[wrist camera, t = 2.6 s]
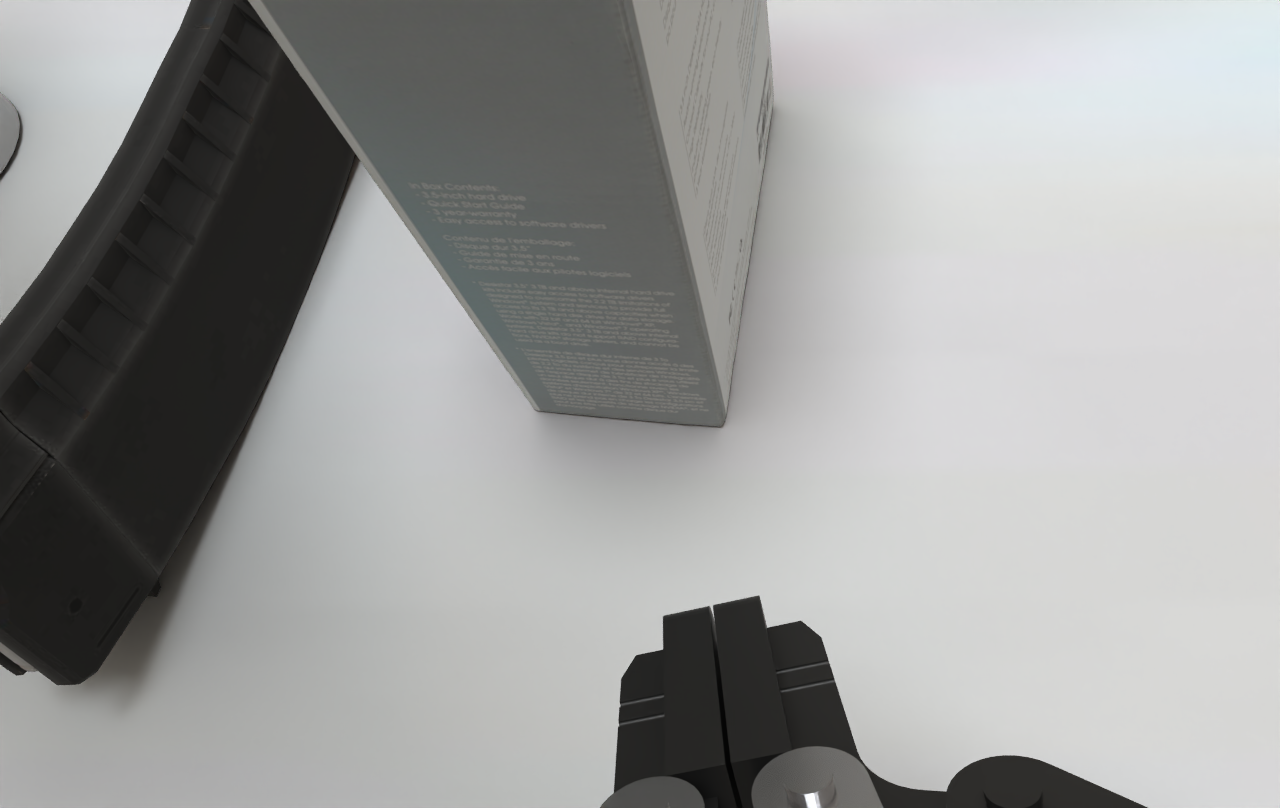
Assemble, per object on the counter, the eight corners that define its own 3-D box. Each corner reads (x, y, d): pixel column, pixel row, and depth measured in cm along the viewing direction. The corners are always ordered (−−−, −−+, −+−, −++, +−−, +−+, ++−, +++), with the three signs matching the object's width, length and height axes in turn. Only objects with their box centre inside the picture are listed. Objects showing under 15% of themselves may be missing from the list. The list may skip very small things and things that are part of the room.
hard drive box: (602, 101, 40) (431, -490, 22) (775, 101, 38) (742, -540, 20) (526, 418, 33) (203, -49, 16) (730, 436, 32) (623, -67, 14)
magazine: (269, -162, 37) (-480, 332, 18) (338, -165, 36) (-369, 347, 17) (395, 188, 50) (31, 696, 31) (449, 191, 49) (109, 714, 30)
